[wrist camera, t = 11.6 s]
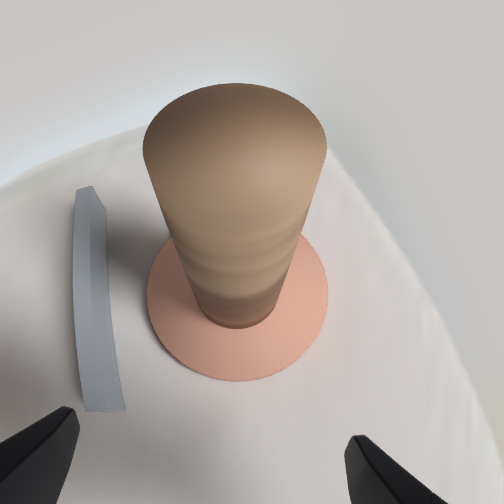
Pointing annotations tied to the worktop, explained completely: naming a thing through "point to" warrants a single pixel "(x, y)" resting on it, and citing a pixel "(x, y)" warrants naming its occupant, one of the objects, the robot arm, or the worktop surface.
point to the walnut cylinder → (235, 192)
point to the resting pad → (238, 340)
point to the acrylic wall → (93, 307)
